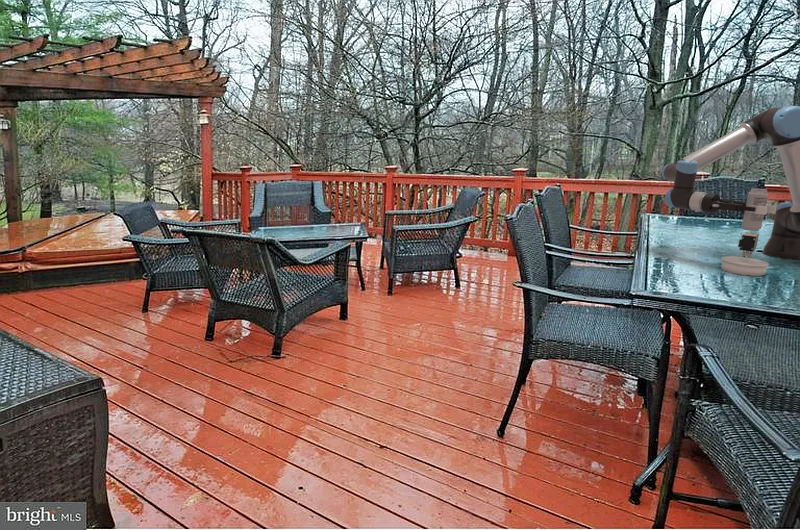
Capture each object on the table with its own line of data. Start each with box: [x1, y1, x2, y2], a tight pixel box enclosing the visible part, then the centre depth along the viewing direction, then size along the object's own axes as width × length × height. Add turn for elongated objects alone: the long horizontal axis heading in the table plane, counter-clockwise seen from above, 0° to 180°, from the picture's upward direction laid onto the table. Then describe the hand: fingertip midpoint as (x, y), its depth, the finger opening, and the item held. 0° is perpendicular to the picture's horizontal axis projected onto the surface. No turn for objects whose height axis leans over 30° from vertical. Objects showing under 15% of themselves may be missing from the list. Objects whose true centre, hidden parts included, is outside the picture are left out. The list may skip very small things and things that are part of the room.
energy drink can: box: [741, 188, 769, 232], centre depth 185 cm, size 6×6×15 cm
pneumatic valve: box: [737, 231, 760, 258], centre depth 207 cm, size 6×12×12 cm, turn 139°
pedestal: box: [720, 255, 770, 277], centre depth 190 cm, size 15×15×4 cm
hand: (770, 210), depth 180 cm, fingers closed on energy drink can, 6 cm apart
